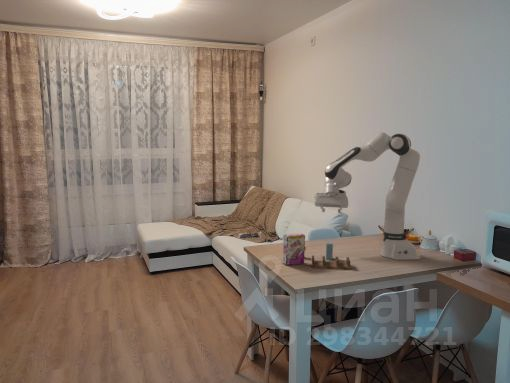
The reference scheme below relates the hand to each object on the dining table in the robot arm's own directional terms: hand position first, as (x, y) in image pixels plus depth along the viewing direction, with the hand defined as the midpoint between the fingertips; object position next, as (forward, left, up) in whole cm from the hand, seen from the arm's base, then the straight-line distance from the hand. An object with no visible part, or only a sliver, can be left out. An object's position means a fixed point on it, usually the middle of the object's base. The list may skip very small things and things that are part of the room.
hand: (331, 212), depth 248 cm
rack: (+1, +28, -25) cm, 37 cm away
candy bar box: (+21, +27, -25) cm, 43 cm away
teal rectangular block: (+1, +14, -25) cm, 29 cm away
